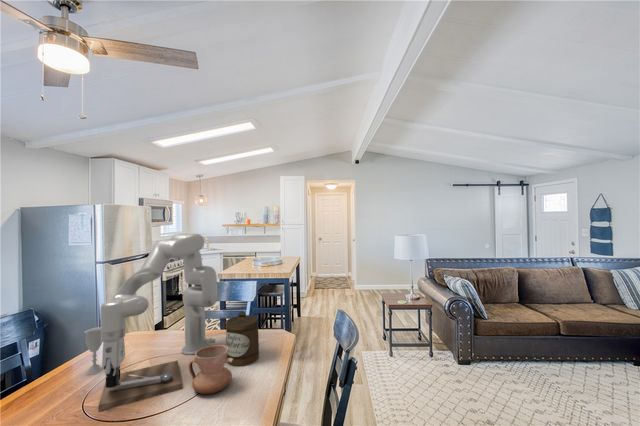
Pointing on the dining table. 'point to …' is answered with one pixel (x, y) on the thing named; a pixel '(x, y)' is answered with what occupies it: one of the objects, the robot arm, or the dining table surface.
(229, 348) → the wooden container
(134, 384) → the lever
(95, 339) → the chalice
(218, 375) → the ceramic jug
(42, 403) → the dining table surface
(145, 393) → the lever board
